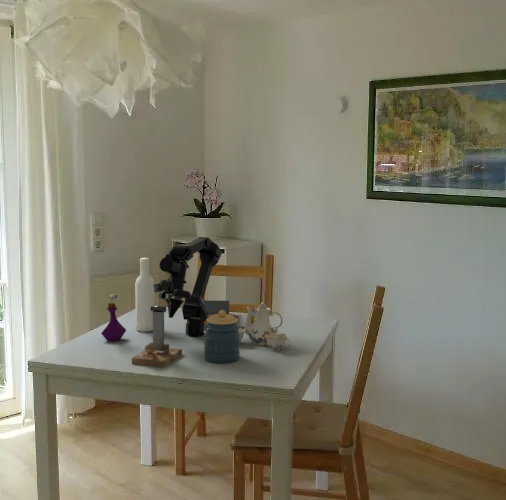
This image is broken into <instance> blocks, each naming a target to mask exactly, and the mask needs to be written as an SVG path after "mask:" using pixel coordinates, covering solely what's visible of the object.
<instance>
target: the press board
mask: <svg viewBox="0 0 506 500" xmlns="http://www.w3.org/2000/svg"><path fill="white" fill-rule="evenodd" d="M182 355H183V348H174V347H170V343H164V345H163V351H157V350H155V346H154V345H153V341H150V342H149V343H147V344H146V345H145V346H144V350H142V351H141V352H139V353H137V354H135V356H133V357H131V364H133V365H142V366H150V367H159V368H164V367H166V366H167V365H169V364H171V362H173V361H174V360H176V359H178V358H179V357H180V356H182Z"/></svg>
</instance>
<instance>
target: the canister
mask: <svg viewBox="0 0 506 500" xmlns="http://www.w3.org/2000/svg"><path fill="white" fill-rule="evenodd" d="M206 321H207V324H205V325H204V333H205V334H204V335H203V337H204V338H203V340H204V341H203V343H204V344H203V345H204V346H203V357H204V360H205V361H207V362H209V363H216V364H228V363H233V362H237V361H238V360H239V359H240V356H241V355H240V353H241V351H240V341H239V339H240V334H239V328H240V327H241V325H240V324H239V323H238V321H239V320H238V318H236V317H235V316H234V315H233V314H230V313H229V314H226V312H225V311H224V310H220V311H219V313H218V314H215V315H211V316H210V317H209V318H207V319H206Z"/></svg>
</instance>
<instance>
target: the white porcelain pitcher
mask: <svg viewBox="0 0 506 500" xmlns="http://www.w3.org/2000/svg"><path fill="white" fill-rule="evenodd" d="M255 308H256V306H255V305H253V306H252V307H251V309H252V311H251V321H250V325H251V326H254V323H255V318H256V313H255ZM240 328H241V329H242V330H244V325H243V326H240Z"/></svg>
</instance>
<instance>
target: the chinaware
mask: <svg viewBox="0 0 506 500" xmlns="http://www.w3.org/2000/svg"><path fill="white" fill-rule="evenodd" d="M255 307H256V306H255ZM255 307H254V309H255V310H254V312H255V313H256V318H255V322H254V326H251V325H250V321H251V312H252V310H251V308H250V307H249V306H245V309H246V310H247V315H246V317H245V321H244V324H243V326H244V330H242V329H241V328H239V334H240V339H239V342H241V341H242V339H243V338H244V335H245V334H246V335H247V336H248V337H249V340H251V344H253V345H257V346H269V348H271V349H270V350H271V351H280V350H283V349H284V348H289V347H290V346H291V344H289V345H288V346H286V345H285V343H286V342H287V341H288V342H289V343H291V340H289V338H288V336H287V335H286V334H285V333H279V334H278V332H279V328H280V327H282V325H283V321H284V320H283V316H282V315H281V314H280V312H278V311H271V307H267V305H266V304H265V303H264V301H262V302H261V303H260V304H258V306H257V307H256V308H255ZM274 314H277V315H278V316H279V317H280V323H279V325H278V326H274V327H272V325H271V321H270V320H271V319H270V317H274Z"/></svg>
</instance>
